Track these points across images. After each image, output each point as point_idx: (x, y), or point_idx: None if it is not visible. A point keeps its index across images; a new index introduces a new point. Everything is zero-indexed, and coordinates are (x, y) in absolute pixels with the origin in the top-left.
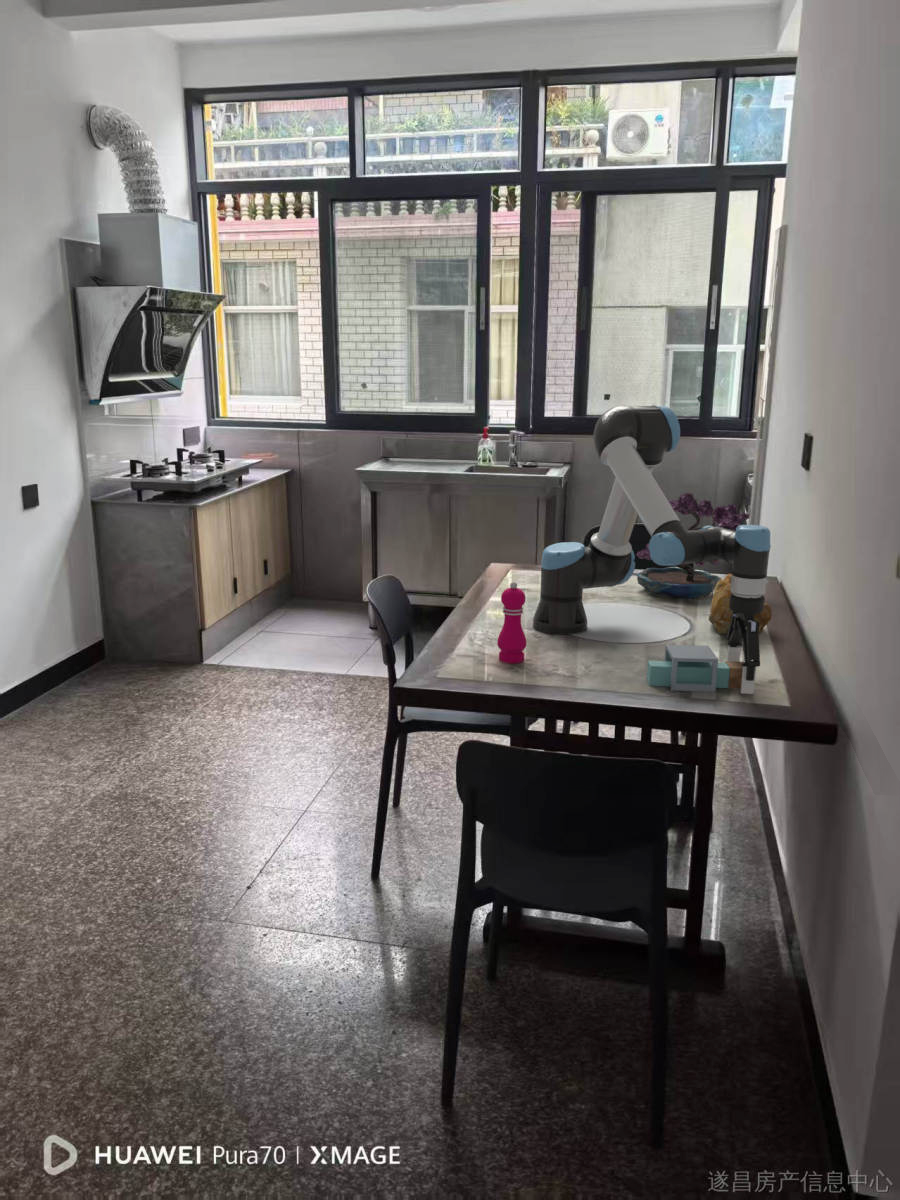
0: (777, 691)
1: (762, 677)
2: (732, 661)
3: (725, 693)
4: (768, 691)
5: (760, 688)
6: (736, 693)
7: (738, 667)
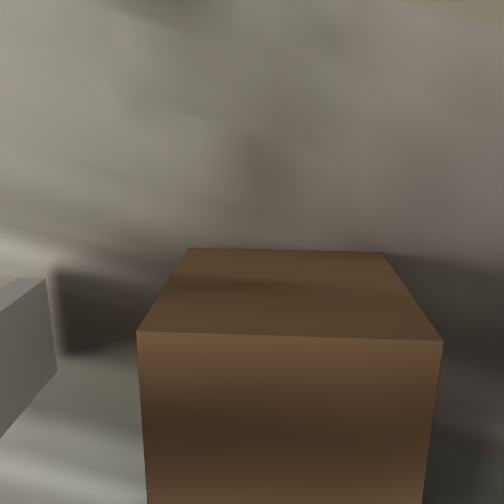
0: (453, 6)
1: (42, 43)
2: (150, 496)
3: (480, 467)
4: (449, 103)
5: (365, 158)
6: (485, 392)
7: (387, 494)
